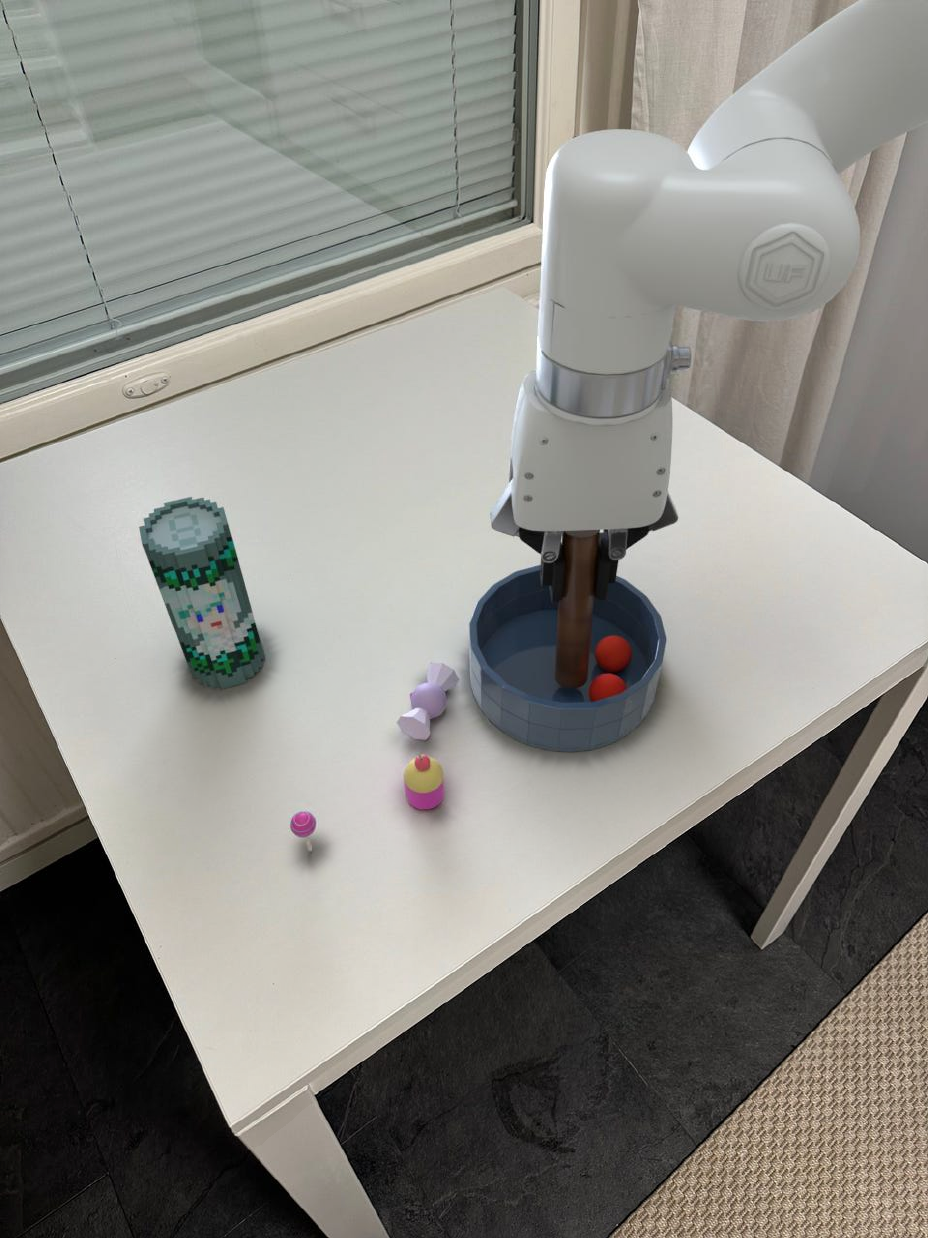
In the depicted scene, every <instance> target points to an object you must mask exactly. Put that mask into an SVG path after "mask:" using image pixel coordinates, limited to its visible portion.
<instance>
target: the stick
mask: <svg viewBox="0 0 928 1238" xmlns="http://www.w3.org/2000/svg"><path fill="white" fill-rule="evenodd" d="M600 533H601V530H579V531H563V532H562V538H561V543H562V551H563V556H564V562H565V571H564V581H563V592H562V600H559V604H558V622H557V641H556V660H555V680H556V682H557V683H558V684H559V685H561V686H563V687H566V688H578V687H581V686H583V685H584V684H585V683H586V682H587V678H588V666H589V654H590V642H591V630H592V618H593V606H594V593H595V581H596V569H597V558H598V547H599V535H600Z"/></svg>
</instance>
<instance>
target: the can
mask: <svg viewBox="0 0 928 1238" xmlns="http://www.w3.org/2000/svg"><path fill="white" fill-rule="evenodd" d="M143 524H144V525H140V526H138V528H139V529H138V530H139V534H140V540H141V546H142V548H143V550H144V553H145V556H146V559H147V560H148V564H149V566H150V568H151V571H152V575H153V576H154V579H155V582H156V585H157V587H158V589H159V592H160V595H161V598H162V601H163V603H164V606H165V608H166V611H167V614H168V616H169V619H170V622H171V624H172V627H173V630H174V633H175V636H176V638H177V640H178V642H179V646H180V648H181V651H182V652H183V656H184V659H185V662H186V664H187V667H188V670H189V672H190V675H191V678H192V679H197V681H198V684H199V685H202V684H203V685H204V687H207V686H209V687H210V689H215V688H218V687H220V689H221V690H225V689H228V688H232V687H236V686H239V685H242V684H247V681H246V680H247V679H250V678H255V673H258V672H259V668H262V667H263V663H262V660H265V659H266V655H265V652H264V648H263V645H262V641H261V637H260V634H259V629H258V626H257V622H256V620H255V616H254V613H253V608H252V605H251V601H250V598H249V593H248V591H247V587H246V584H245V579H244V575H243V572H242V569H241V565H240V561H239V557H238V554H237V550H236V547H235V543H234V540H233V536H232V533H231V529H230V525H229V521H228V517H227V515H226V510H225V508H224V506H222V507H218V503H217V501H211V499H207V500H205V498H204V497H199V498H195V499H193V497H192V496H189V497H185V498H180V499H176V500H171V501H168V502H164V503H163V506H161V507H156V508H153V512H150V513H148V517H144V518H143Z"/></svg>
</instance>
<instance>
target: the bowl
mask: <svg viewBox="0 0 928 1238" xmlns="http://www.w3.org/2000/svg"><path fill="white" fill-rule="evenodd" d="M540 565H541V564H537V565H534V566H530V567H526V568H524V569H520V570H516V571H514V572H512V573H510V574H509V575H507V576H505V577H503V578H501V579H500V580H498V581H496V582H494V583H493V584H492V585H491V586H490V587H489V588H488V589H487V591H486V592H485V593H483V595H482V596H481V597H480V598H479V599H478V600H477V602H476V604H475V607H474V610H473V612H472V614H471V617H470V619H469V622H468V623H469V624H468V638H469V639H468V642H469V648H468V649H469V650H468V651H469V679H470V688H471V690H472V693H473V697H474V699H475V701H476V703H477V705H478V708H479V709H480V710H481V711H482V713H483V714H484V715H485V716H486V718H487V719H488V720H489V721H490V722H491V724H493V725H494V726H495V727H496V728H498V729H499V730H500V731H501V732H503V733H504V734H506V735H507V736H509V737H511V738H512V739H514V740H516V741H519V742H521V743H523V744H525V745H528V746H531V747H534V748H538V749H542V750H546V751H551V752H553V751H554V752H561V753H562V752H563V753H565V752H568V753H569V752H570V753H575V752H585V751H591V750H595V749H599V748H603V747H605V746H608V745H611V744H613V743H616V742H617V741H619V740H621V739H622V738H625V736H628V734H631V733H632V732H633V730H635V729H636V728H637V727H638V726H639V725H640V724H641V723H642V721H643V720H644V719H645V718H646V716H647V714H648V713H649V711H650V709H651V706H652V705H653V703H654V701H655V698H656V694H657V693H656V692H657V688H658V684H659V680H660V675H661V671H662V668H663V662H664V657H665V652H666V646H667V642H668V641H667V639H668V638H667V635H666V631H665V626H664V623H663V619H662V616H661V614H660V613H659V612H658V610H657V608H656V607H655V606H654V605H653V603H652V602H651V601H650V599H649V597H648V596H647V594H645V593H643V591H641V590H639V588H637V587H635V586H634V585H633V583H631V582H629V581H628V580H626V579H625V578H623V577H620V576H618V575H616V581H615V583H614V584H608V589H607V596H606V601H598V599H595V594H594V606H593V618H592V630H591V642H590V654H589V666H588V678H587V682H586V683H585V684H584V685H583V686H581V687H578V688H566V687H563V686H561V685H559V684H558V683H557V682H556V680H555V660H556V641H557V622H558V604H559V602H554V603H552V601H551V594H550V587H549V586H541V579H540ZM613 635H614V636H619V637H622V638H624V639H625V640H626V641H627V642H628V643H629V645H630V646H631V649H632V659H631V662H630V663H629V665H628V666H627V667H626V668H625V669H624V670H622V671H619V672H608V671H605V670H604V669H602V668H601V667H600V666H599V665H598V663H597V662H596V659H595V649H596V646H597V644H598V643H599V642H600V641H601V640H602V639H603V638H605V637H607V636H613ZM602 674H614V675H616V676H618V677H620V678H621V679H622V680H623V681H624V683H625V684H626V687H627V690H625V691H624V692H622V693H621V694H617V695H614V696H611V697H608V698H605V699H601V700H598V701H595V702H591V700H590V698H589V687H590V685H591V683H592V681H593V680H594V679H595V678H596V677H598V676H600V675H602Z"/></svg>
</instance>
